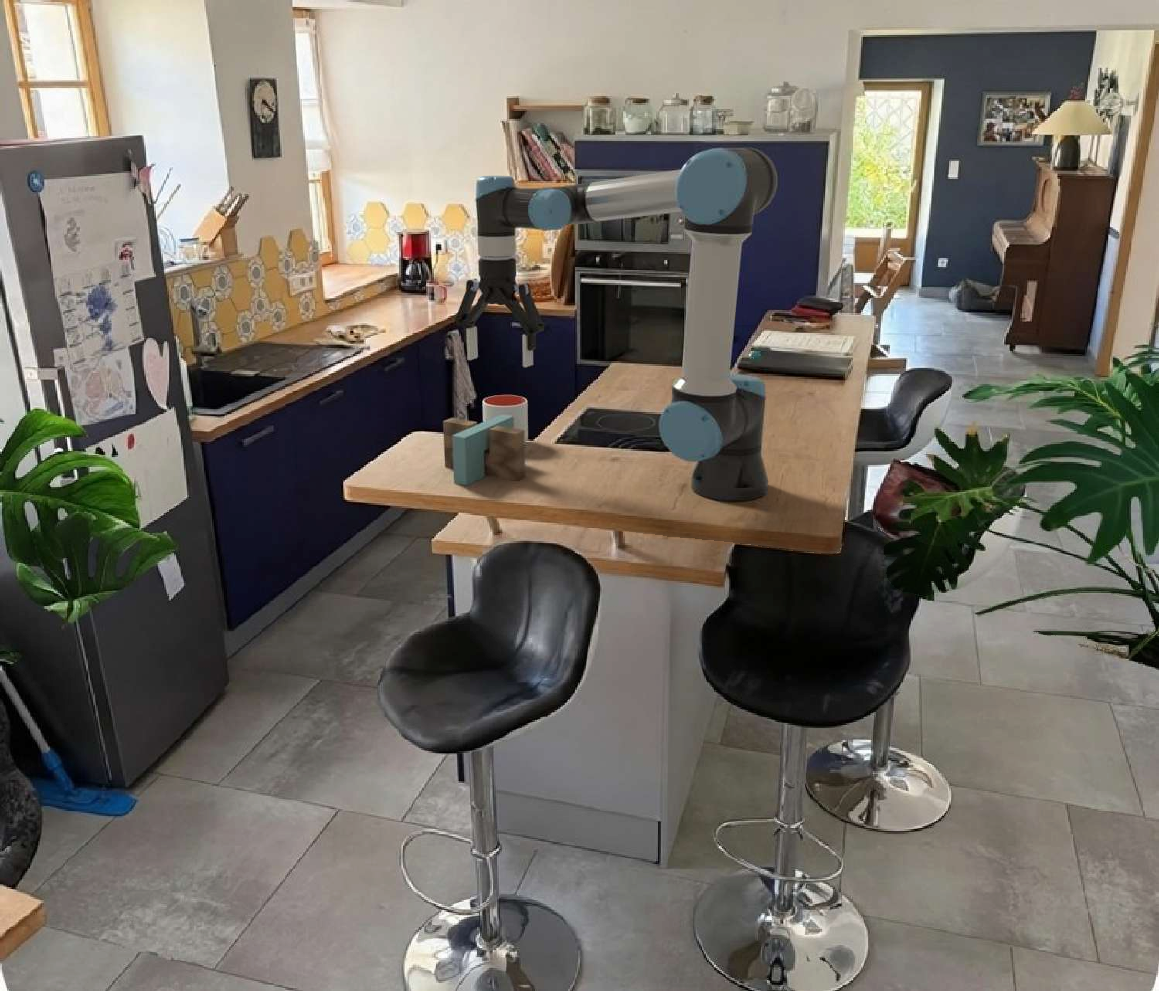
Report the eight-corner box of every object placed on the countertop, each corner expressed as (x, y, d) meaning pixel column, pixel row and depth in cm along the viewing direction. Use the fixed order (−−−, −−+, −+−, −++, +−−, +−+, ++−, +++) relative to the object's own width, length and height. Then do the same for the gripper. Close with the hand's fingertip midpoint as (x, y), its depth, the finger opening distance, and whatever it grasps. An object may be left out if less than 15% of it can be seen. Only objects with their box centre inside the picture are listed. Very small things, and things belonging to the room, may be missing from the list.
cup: (521, 451, 226) (521, 407, 222) (478, 448, 228) (476, 405, 224) (532, 438, 235) (532, 396, 231) (490, 435, 237) (489, 393, 233)
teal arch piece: (502, 458, 221) (501, 414, 217) (514, 460, 219) (513, 416, 216) (454, 483, 206) (452, 435, 202) (466, 485, 205) (464, 437, 201)
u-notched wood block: (524, 476, 210) (524, 430, 206) (517, 481, 207) (516, 434, 204) (453, 462, 218) (451, 417, 214) (445, 466, 215) (443, 421, 212)
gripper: (560, 259, 200) (561, 365, 207) (456, 251, 212) (460, 352, 219) (541, 263, 194) (542, 372, 201) (435, 255, 205) (439, 359, 213)
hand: (499, 362), depth 210 cm, fingers open, 13 cm apart
